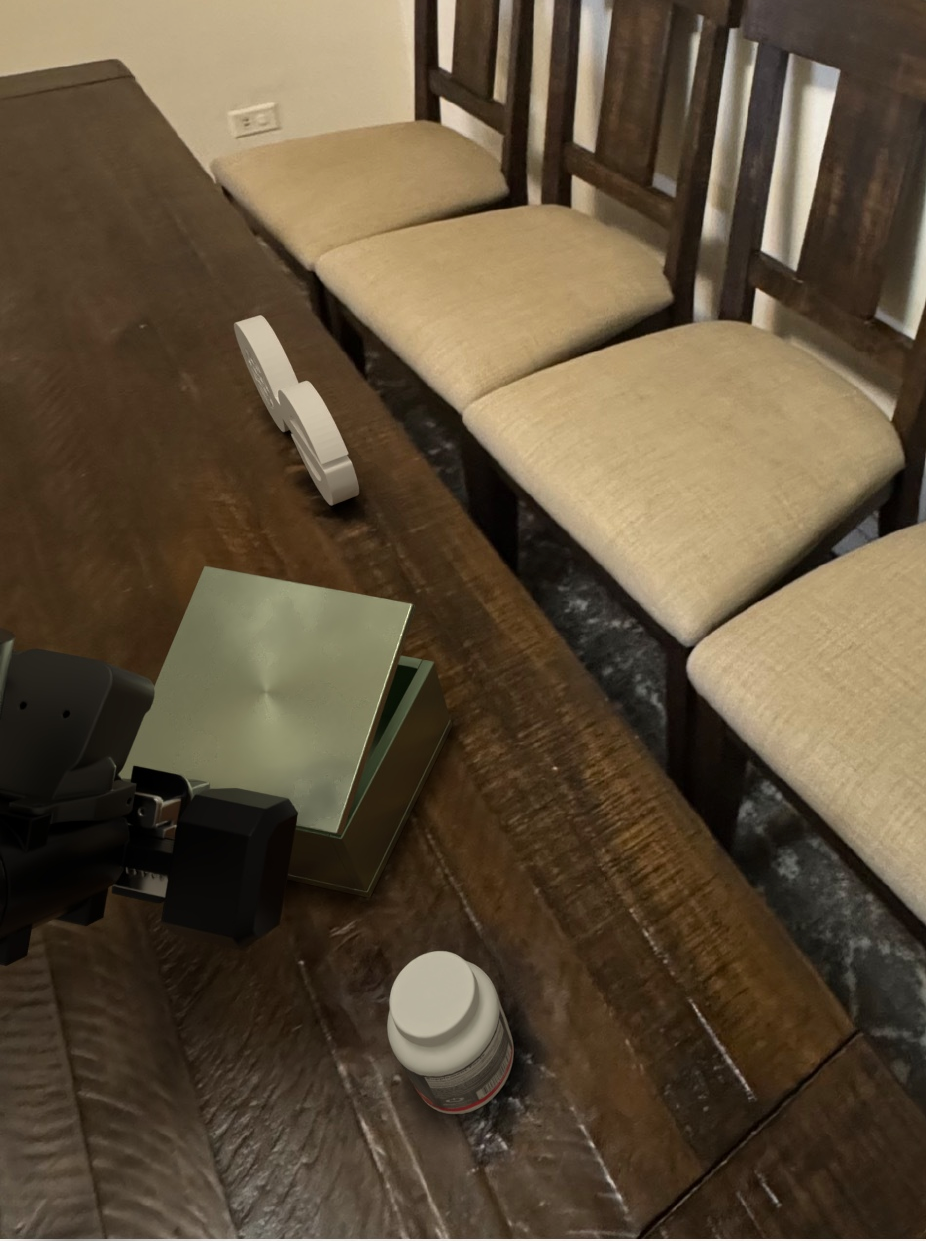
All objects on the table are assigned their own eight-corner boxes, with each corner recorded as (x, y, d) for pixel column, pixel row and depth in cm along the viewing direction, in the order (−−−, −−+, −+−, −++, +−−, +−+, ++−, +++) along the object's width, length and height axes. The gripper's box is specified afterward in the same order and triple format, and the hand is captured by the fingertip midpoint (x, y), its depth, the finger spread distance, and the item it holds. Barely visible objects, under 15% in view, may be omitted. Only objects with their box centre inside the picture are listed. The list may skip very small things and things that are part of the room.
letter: (257, 394, 95) (223, 302, 88) (280, 386, 96) (248, 295, 89) (343, 528, 83) (311, 434, 76) (368, 517, 84) (340, 424, 77)
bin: (272, 690, 71) (240, 624, 66) (452, 725, 69) (434, 661, 64) (165, 852, 62) (119, 791, 57) (370, 898, 60) (341, 839, 55)
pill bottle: (403, 1035, 55) (363, 962, 48) (499, 992, 57) (473, 917, 50) (426, 1136, 52) (387, 1074, 45) (527, 1088, 53) (504, 1021, 47)
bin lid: (211, 569, 62) (204, 565, 61) (417, 607, 60) (412, 603, 60) (120, 787, 57) (111, 786, 56) (342, 835, 55) (336, 834, 55)
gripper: (202, 723, 37) (392, 671, 52) (-235, 636, 39) (71, 611, 55) (151, 1023, 37) (356, 882, 52) (-286, 919, 39) (36, 814, 55)
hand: (202, 790), depth 53 cm, fingers closed
